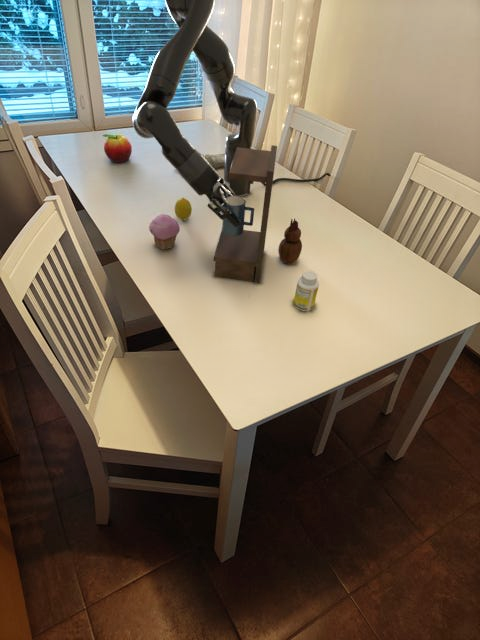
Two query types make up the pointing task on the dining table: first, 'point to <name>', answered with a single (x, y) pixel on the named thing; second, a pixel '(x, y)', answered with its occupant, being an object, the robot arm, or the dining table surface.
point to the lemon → (183, 209)
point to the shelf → (247, 248)
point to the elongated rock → (215, 160)
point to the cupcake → (164, 231)
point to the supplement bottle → (306, 291)
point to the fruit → (117, 147)
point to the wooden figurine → (290, 244)
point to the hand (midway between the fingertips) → (239, 218)
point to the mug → (238, 209)
